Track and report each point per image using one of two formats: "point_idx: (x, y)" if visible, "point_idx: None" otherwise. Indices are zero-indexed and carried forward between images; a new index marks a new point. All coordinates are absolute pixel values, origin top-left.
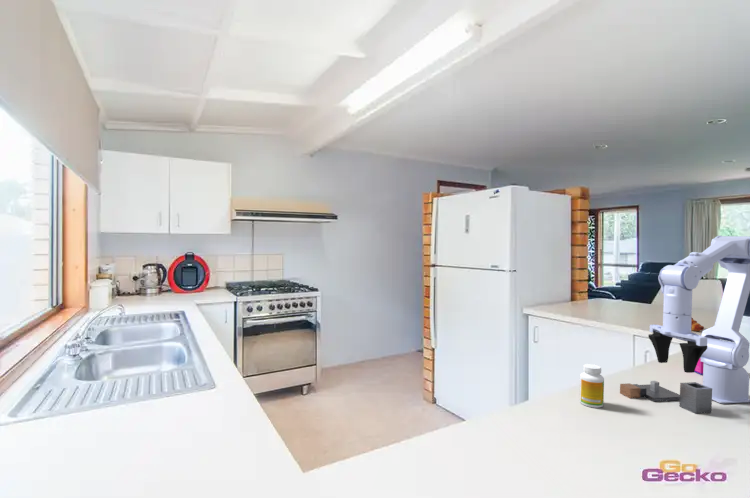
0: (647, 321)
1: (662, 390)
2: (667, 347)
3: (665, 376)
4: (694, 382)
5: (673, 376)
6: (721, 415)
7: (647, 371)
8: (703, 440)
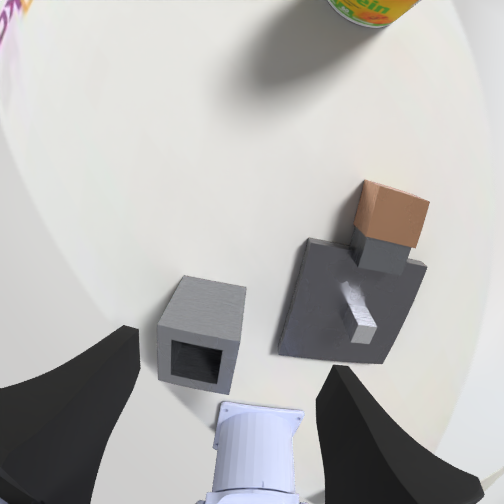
0: None
1: (342, 340)
2: (332, 484)
3: None
4: (227, 390)
5: None
6: None
7: (432, 416)
8: (56, 110)
